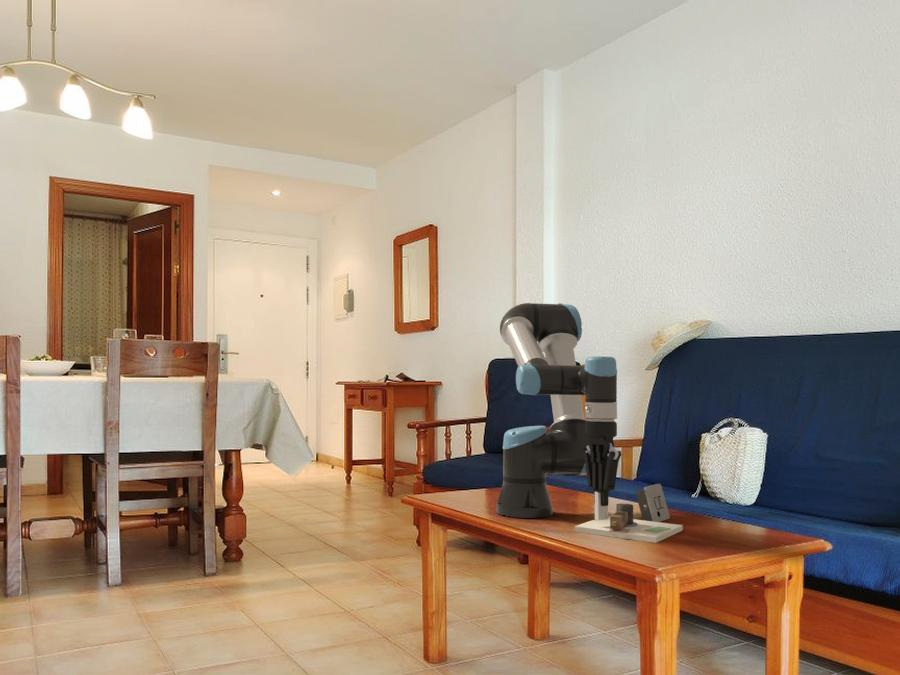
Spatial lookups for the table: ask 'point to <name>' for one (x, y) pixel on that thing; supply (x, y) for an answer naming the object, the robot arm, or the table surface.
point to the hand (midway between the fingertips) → (601, 519)
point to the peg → (622, 516)
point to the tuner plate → (631, 530)
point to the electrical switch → (653, 503)
